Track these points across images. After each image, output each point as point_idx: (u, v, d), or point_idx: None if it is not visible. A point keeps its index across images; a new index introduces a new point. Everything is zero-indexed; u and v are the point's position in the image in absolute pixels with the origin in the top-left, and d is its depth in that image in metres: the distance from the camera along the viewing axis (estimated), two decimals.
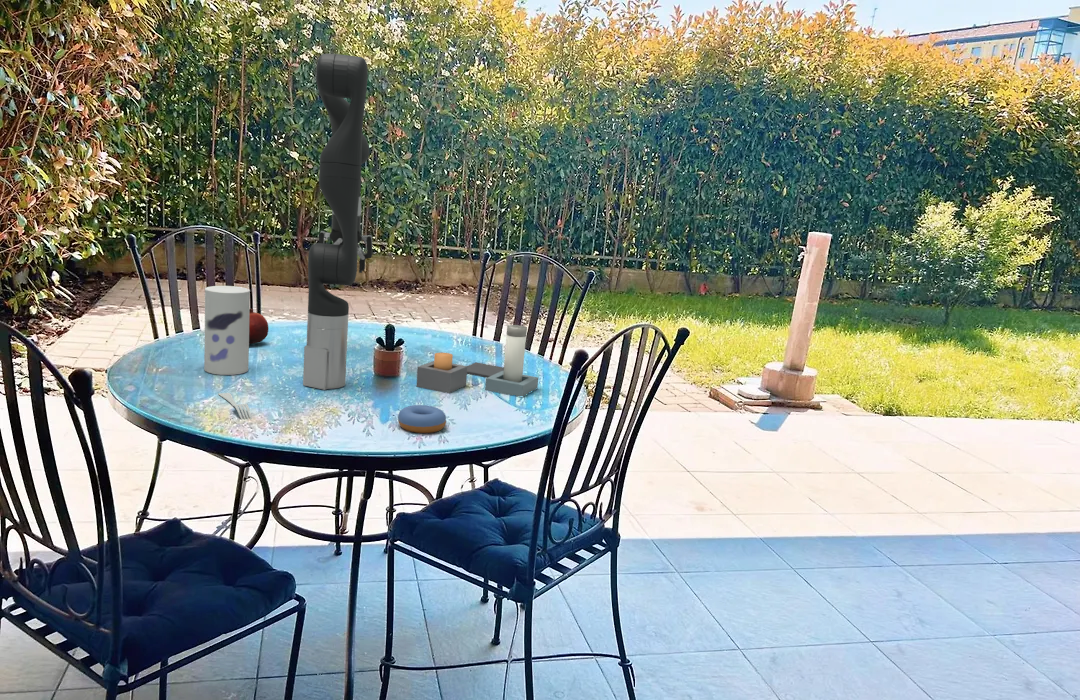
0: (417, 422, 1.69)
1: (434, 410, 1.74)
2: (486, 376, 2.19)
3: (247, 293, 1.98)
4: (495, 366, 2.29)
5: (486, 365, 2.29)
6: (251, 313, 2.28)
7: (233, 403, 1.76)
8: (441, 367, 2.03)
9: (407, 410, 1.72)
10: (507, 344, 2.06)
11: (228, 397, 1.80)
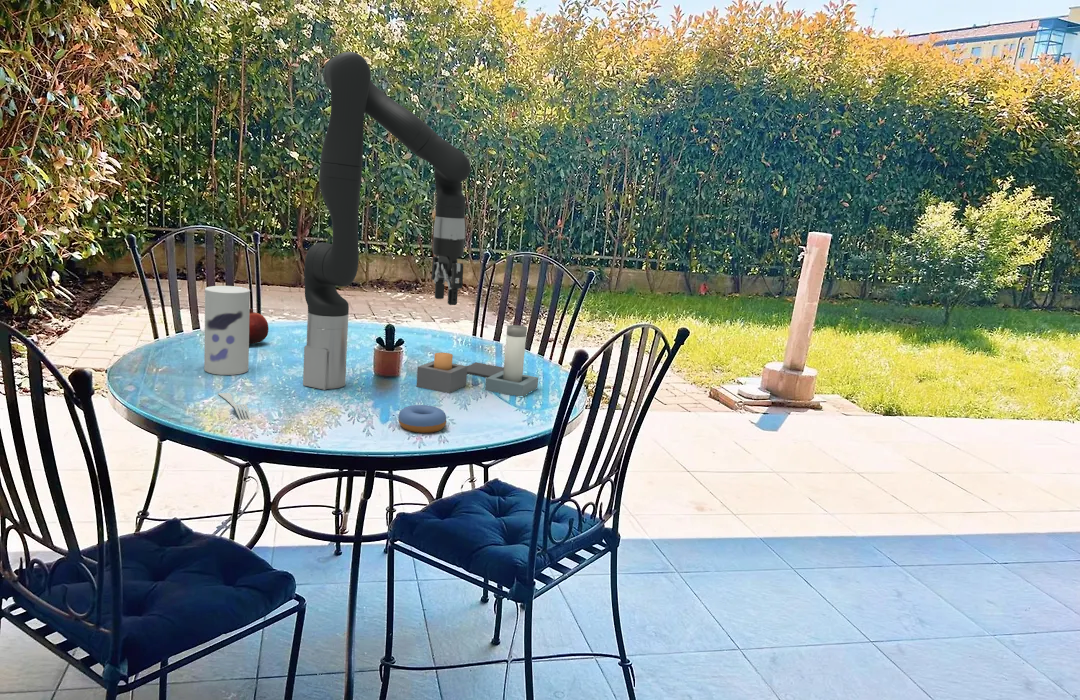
0: (417, 422, 1.69)
1: (434, 410, 1.75)
2: (486, 376, 2.19)
3: (247, 293, 1.98)
4: (495, 366, 2.29)
5: (486, 365, 2.29)
6: (251, 313, 2.28)
7: (232, 403, 1.76)
8: (441, 367, 2.03)
9: (407, 410, 1.72)
10: (507, 344, 2.06)
11: (228, 397, 1.80)
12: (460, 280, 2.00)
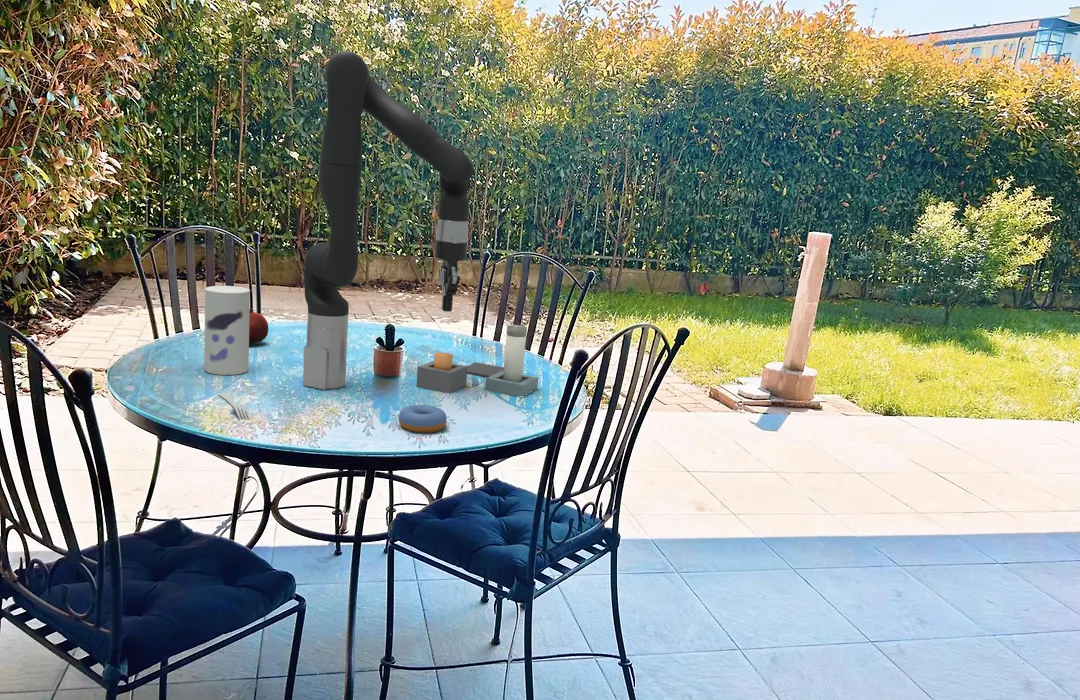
0: (417, 422, 1.69)
1: (435, 410, 1.75)
2: (486, 376, 2.19)
3: (247, 293, 1.98)
4: (495, 366, 2.29)
5: (486, 365, 2.29)
6: (251, 313, 2.28)
7: (232, 403, 1.76)
8: (441, 367, 2.03)
9: (408, 410, 1.72)
10: (507, 344, 2.06)
11: (228, 397, 1.80)
12: (454, 289, 1.98)
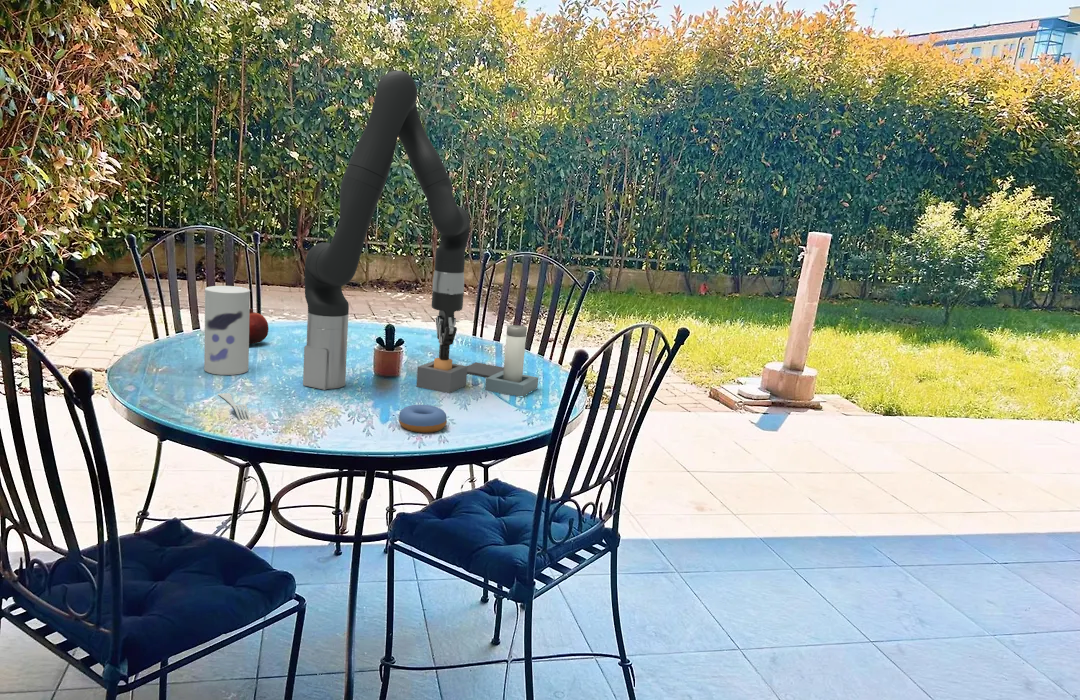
0: (418, 422, 1.69)
1: (435, 409, 1.75)
2: (486, 376, 2.19)
3: (247, 293, 1.98)
4: (495, 366, 2.29)
5: (486, 365, 2.29)
6: (251, 313, 2.28)
7: (232, 403, 1.76)
8: None
9: (408, 410, 1.72)
10: (507, 344, 2.06)
11: (228, 397, 1.80)
12: (451, 339, 2.01)
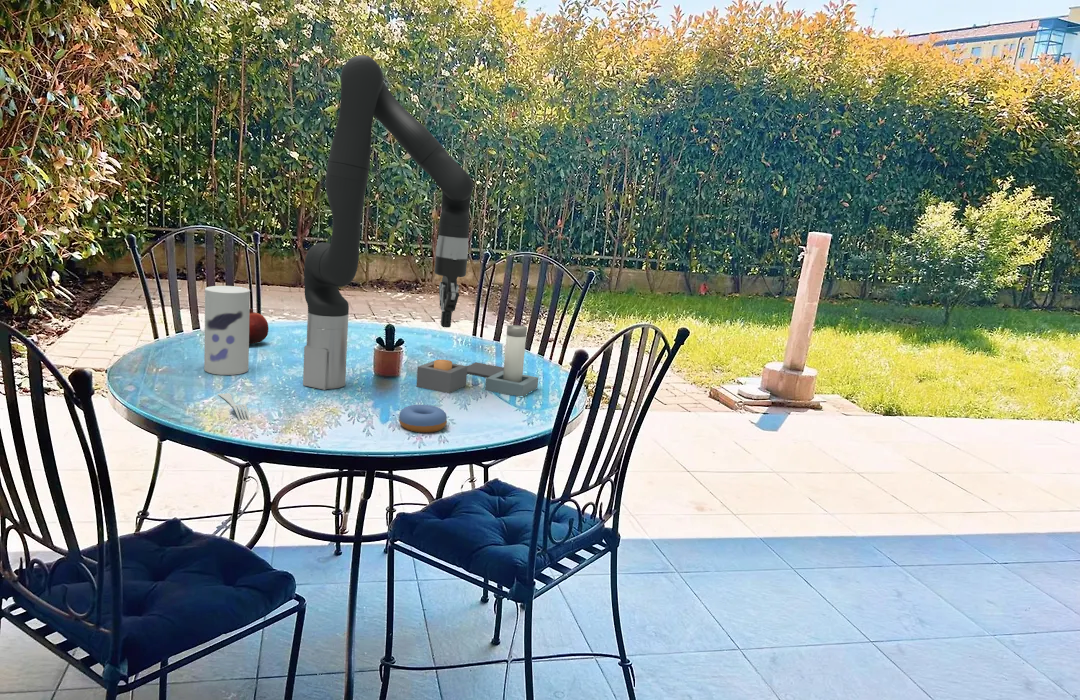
0: (418, 422, 1.69)
1: (435, 409, 1.75)
2: (486, 376, 2.19)
3: (247, 293, 1.98)
4: (495, 366, 2.29)
5: (486, 365, 2.29)
6: (251, 313, 2.28)
7: (232, 403, 1.76)
8: None
9: (408, 409, 1.72)
10: (507, 344, 2.06)
11: (228, 397, 1.80)
12: (453, 305, 1.99)
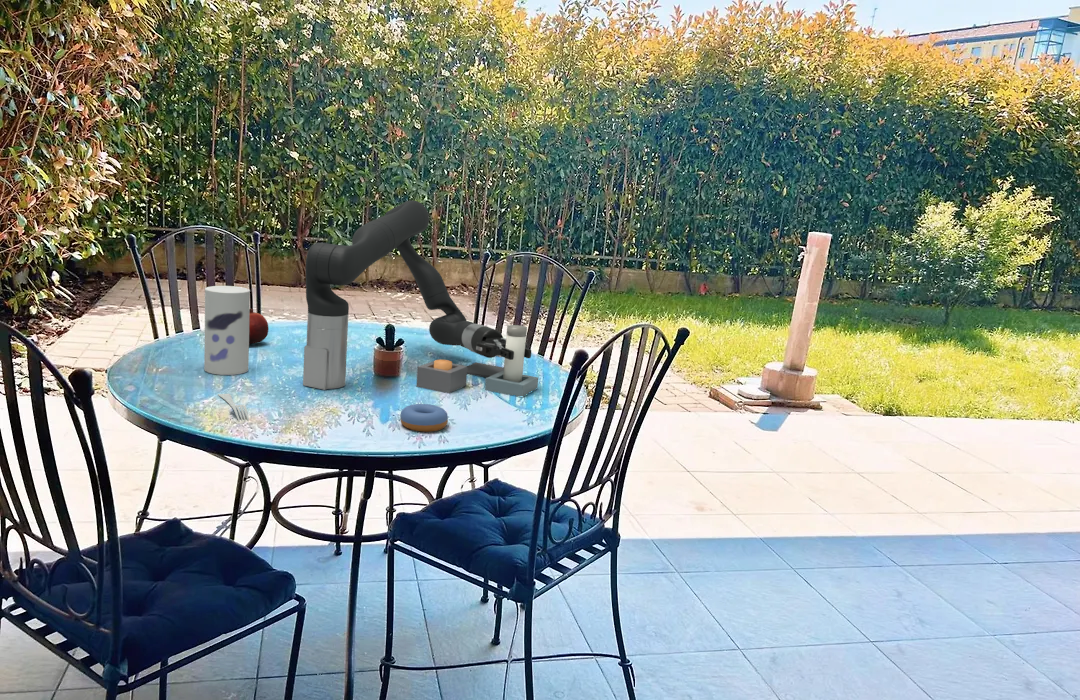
0: (419, 421, 1.70)
1: (436, 409, 1.75)
2: (486, 376, 2.19)
3: (247, 293, 1.98)
4: (495, 366, 2.29)
5: (486, 365, 2.29)
6: (251, 313, 2.28)
7: (232, 404, 1.76)
8: None
9: (409, 409, 1.73)
10: (507, 344, 2.06)
11: (228, 397, 1.80)
12: None
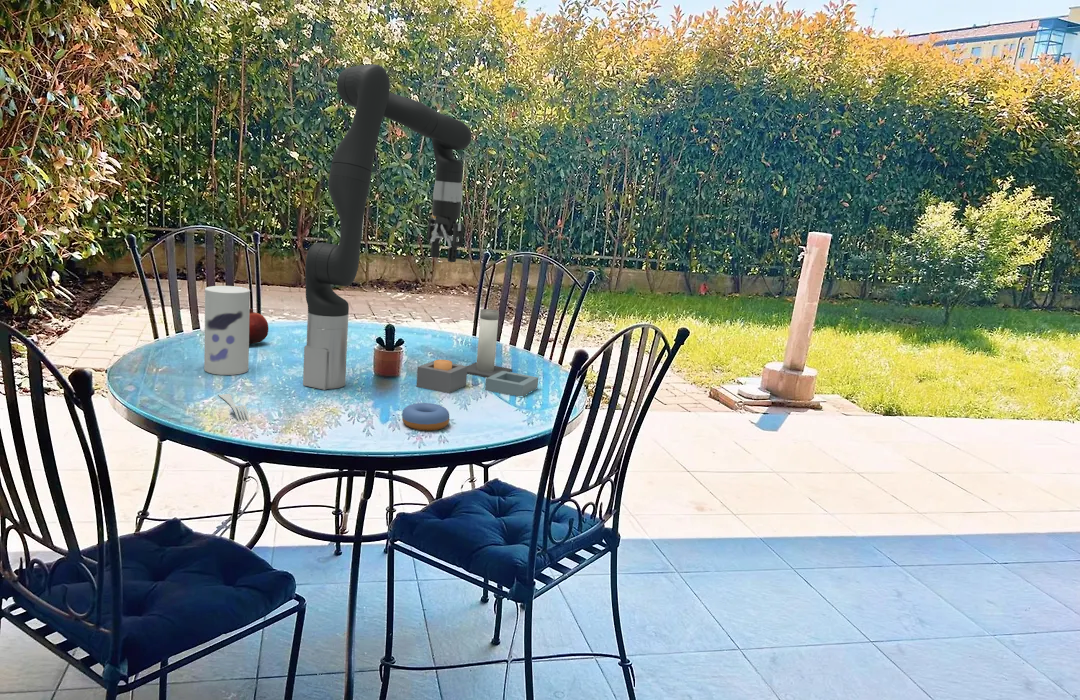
0: (421, 420, 1.71)
1: (438, 408, 1.76)
2: (486, 376, 2.19)
3: (247, 293, 1.98)
4: (495, 366, 2.29)
5: None
6: (251, 313, 2.28)
7: (232, 404, 1.75)
8: None
9: (411, 408, 1.74)
10: (480, 327, 2.21)
11: (228, 398, 1.80)
12: (460, 239, 2.21)
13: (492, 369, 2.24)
